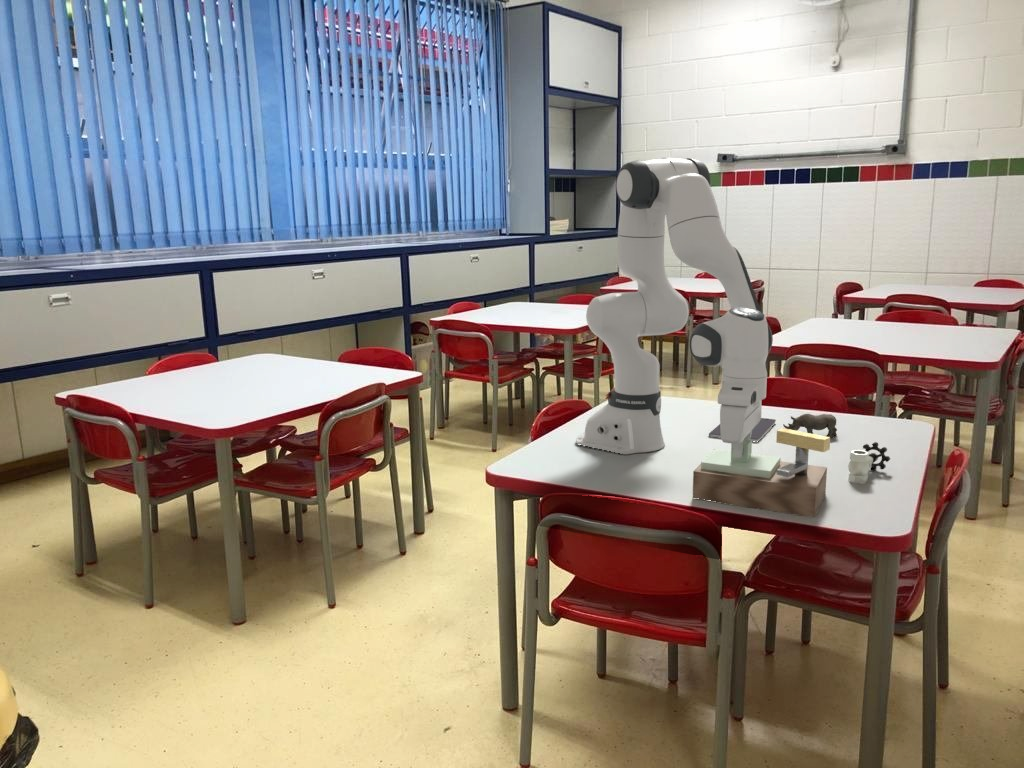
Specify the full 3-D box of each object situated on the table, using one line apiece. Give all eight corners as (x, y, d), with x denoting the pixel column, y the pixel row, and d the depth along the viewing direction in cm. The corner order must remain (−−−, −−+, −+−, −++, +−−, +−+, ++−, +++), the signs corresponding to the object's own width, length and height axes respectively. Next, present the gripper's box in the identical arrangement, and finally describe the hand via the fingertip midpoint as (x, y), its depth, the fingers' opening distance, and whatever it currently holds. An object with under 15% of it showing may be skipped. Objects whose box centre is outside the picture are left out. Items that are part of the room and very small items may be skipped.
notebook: (730, 419, 230) (708, 439, 212) (730, 414, 229) (708, 433, 211) (776, 424, 223) (757, 445, 205) (776, 419, 223) (758, 439, 205)
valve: (869, 487, 173) (889, 472, 181) (872, 457, 171) (891, 444, 180) (838, 480, 177) (859, 467, 186) (840, 451, 176) (861, 439, 184)
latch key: (806, 488, 154) (808, 446, 153) (758, 476, 161) (760, 436, 160) (827, 477, 160) (830, 437, 158) (781, 466, 167) (783, 428, 166)
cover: (700, 469, 168) (701, 443, 167) (713, 455, 176) (714, 431, 175) (770, 478, 161) (771, 452, 160) (780, 464, 170) (781, 439, 168)
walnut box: (692, 498, 168) (693, 471, 166) (710, 478, 180) (711, 452, 178) (814, 517, 156) (816, 488, 155) (825, 494, 168) (827, 467, 167)
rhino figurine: (781, 433, 214) (782, 411, 212) (835, 434, 212) (837, 412, 210) (783, 437, 210) (784, 415, 208) (839, 438, 208) (840, 416, 206)
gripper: (740, 377, 175) (738, 438, 178) (715, 397, 158) (713, 465, 161) (770, 379, 172) (767, 441, 175) (748, 400, 155) (745, 469, 158)
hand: (741, 453), depth 168 cm, fingers open, 4 cm apart
